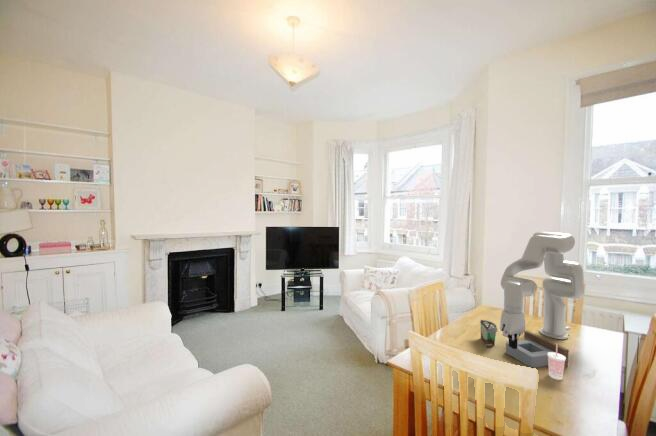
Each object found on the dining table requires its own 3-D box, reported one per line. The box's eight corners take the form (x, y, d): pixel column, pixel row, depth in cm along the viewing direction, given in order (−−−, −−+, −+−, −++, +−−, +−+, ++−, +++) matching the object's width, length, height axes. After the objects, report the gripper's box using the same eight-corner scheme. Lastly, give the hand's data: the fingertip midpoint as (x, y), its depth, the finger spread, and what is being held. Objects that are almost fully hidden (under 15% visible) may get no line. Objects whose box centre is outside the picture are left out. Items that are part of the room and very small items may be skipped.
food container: (501, 349, 145) (501, 329, 144) (487, 348, 146) (488, 328, 146) (492, 338, 157) (492, 320, 156) (479, 337, 158) (480, 319, 158)
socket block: (528, 349, 145) (529, 339, 145) (557, 364, 132) (557, 353, 131) (505, 352, 142) (505, 342, 141) (532, 368, 128) (532, 357, 128)
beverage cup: (568, 381, 119) (569, 348, 118) (551, 380, 120) (552, 346, 119) (559, 373, 125) (560, 341, 124) (543, 371, 126) (544, 339, 125)
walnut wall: (527, 346, 149) (527, 330, 148) (567, 367, 129) (568, 349, 129) (523, 346, 148) (524, 331, 148) (564, 367, 129) (565, 350, 128)
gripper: (519, 303, 138) (519, 341, 140) (493, 307, 135) (492, 345, 136) (534, 309, 131) (533, 348, 132) (506, 313, 128) (506, 354, 129)
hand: (512, 347), depth 134 cm, fingers closed
